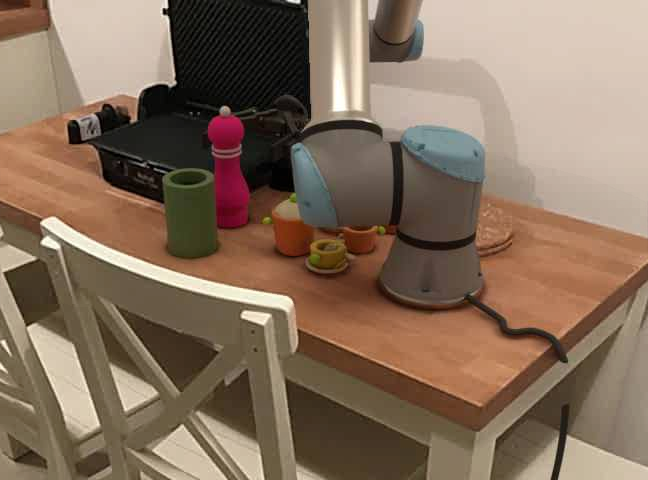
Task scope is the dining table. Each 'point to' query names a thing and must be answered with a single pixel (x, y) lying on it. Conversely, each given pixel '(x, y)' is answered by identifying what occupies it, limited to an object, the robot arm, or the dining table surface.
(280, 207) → the toy tea set
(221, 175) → the pepper mill
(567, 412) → the robot arm
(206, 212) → the green cylindrical container
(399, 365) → the dining table surface
